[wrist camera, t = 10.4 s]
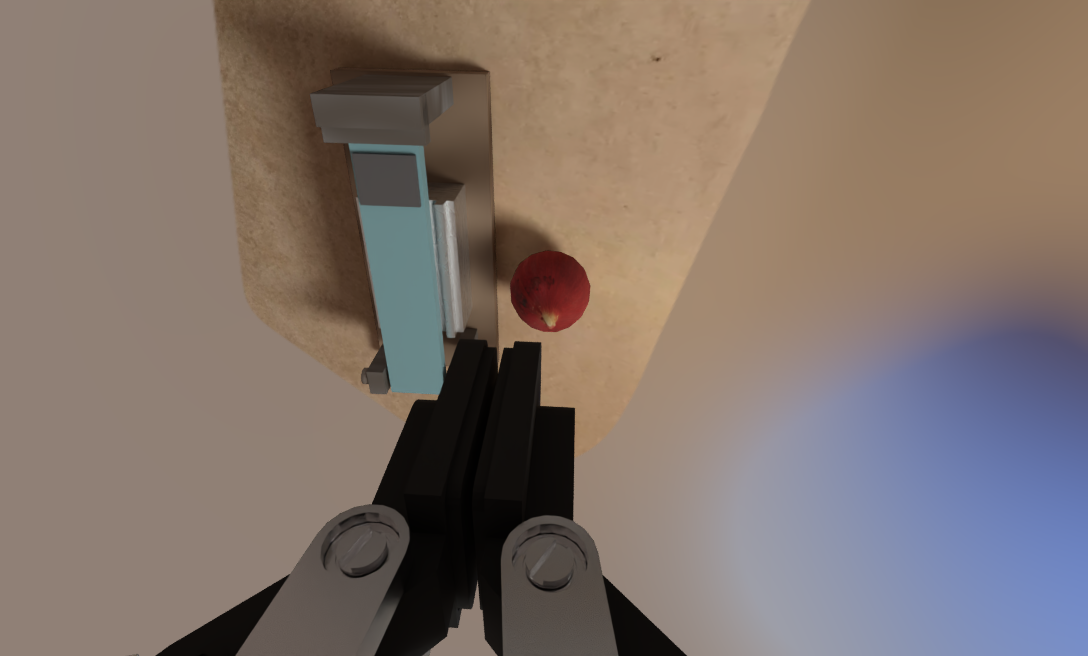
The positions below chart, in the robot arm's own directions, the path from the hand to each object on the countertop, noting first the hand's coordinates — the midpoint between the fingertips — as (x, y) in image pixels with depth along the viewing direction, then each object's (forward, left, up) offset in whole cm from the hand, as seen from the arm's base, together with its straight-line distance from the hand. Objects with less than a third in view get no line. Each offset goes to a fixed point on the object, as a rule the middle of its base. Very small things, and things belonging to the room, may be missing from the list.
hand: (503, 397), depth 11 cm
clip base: (+8, -9, -29) cm, 32 cm away
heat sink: (+9, -9, -28) cm, 31 cm away
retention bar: (+9, -9, -22) cm, 26 cm away
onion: (+11, 0, -29) cm, 31 cm away
